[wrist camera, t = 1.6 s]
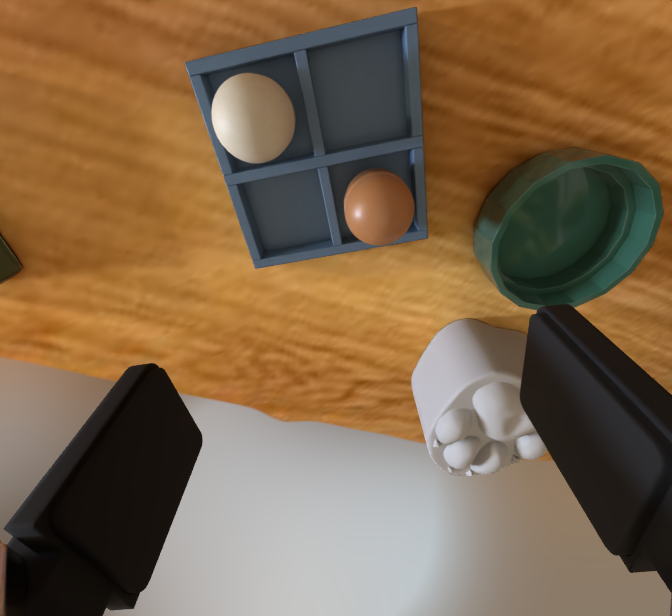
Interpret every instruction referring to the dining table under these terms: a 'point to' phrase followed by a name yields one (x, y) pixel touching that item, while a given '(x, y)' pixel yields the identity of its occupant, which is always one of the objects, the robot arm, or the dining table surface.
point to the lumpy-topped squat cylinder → (474, 399)
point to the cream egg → (253, 117)
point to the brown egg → (378, 206)
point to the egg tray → (325, 133)
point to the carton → (7, 263)
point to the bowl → (567, 227)
